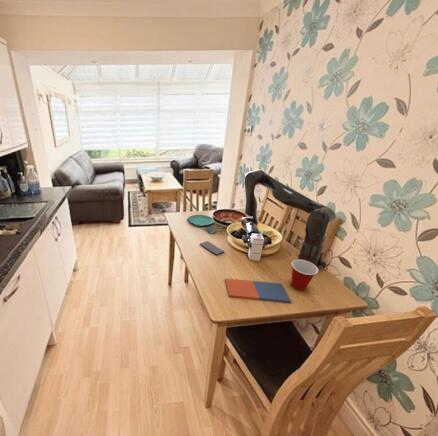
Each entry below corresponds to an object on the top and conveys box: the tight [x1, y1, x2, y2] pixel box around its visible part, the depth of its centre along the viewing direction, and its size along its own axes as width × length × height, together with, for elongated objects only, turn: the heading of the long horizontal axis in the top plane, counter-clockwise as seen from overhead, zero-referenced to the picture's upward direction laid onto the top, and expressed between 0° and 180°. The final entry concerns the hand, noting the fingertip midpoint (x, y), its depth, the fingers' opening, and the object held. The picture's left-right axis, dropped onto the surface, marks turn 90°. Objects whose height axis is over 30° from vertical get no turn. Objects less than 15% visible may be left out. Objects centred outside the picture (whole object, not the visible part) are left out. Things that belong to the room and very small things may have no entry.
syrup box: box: [247, 233, 265, 262], centre depth 134 cm, size 6×6×14 cm
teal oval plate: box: [186, 214, 227, 234], centre depth 178 cm, size 20×30×2 cm, turn 22°
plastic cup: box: [290, 258, 319, 291], centre depth 112 cm, size 11×11×12 cm
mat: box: [224, 278, 292, 304], centre depth 112 cm, size 26×12×1 cm, turn 81°
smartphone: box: [199, 240, 225, 256], centre depth 147 cm, size 7×1×15 cm
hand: (257, 246), depth 132 cm, fingers closed on syrup box, 6 cm apart
